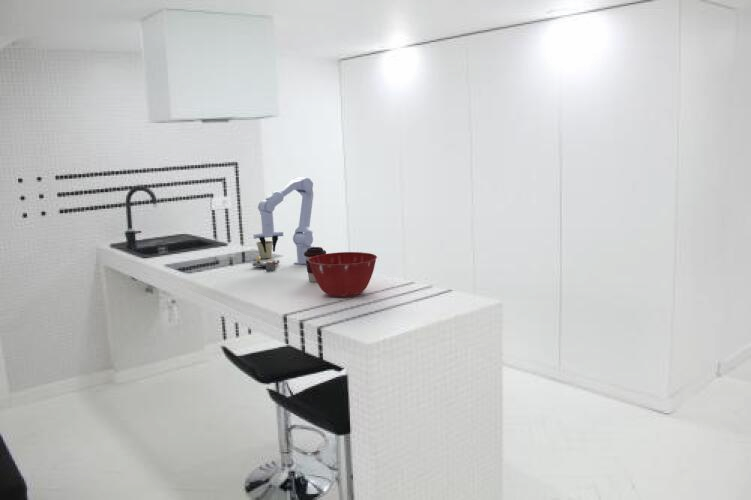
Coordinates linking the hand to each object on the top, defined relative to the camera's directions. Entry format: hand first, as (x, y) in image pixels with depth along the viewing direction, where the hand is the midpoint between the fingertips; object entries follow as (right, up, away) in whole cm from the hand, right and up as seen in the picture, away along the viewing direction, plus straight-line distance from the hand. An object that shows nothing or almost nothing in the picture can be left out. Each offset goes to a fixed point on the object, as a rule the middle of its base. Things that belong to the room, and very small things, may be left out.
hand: (269, 251), depth 331 cm
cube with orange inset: (0, -9, +2) cm, 10 cm away
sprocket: (-4, -6, +11) cm, 13 cm away
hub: (-4, -8, +11) cm, 14 cm away
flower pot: (-8, -4, +36) cm, 37 cm away
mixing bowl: (+40, -18, -53) cm, 68 cm away
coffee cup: (+26, -13, -26) cm, 39 cm away
